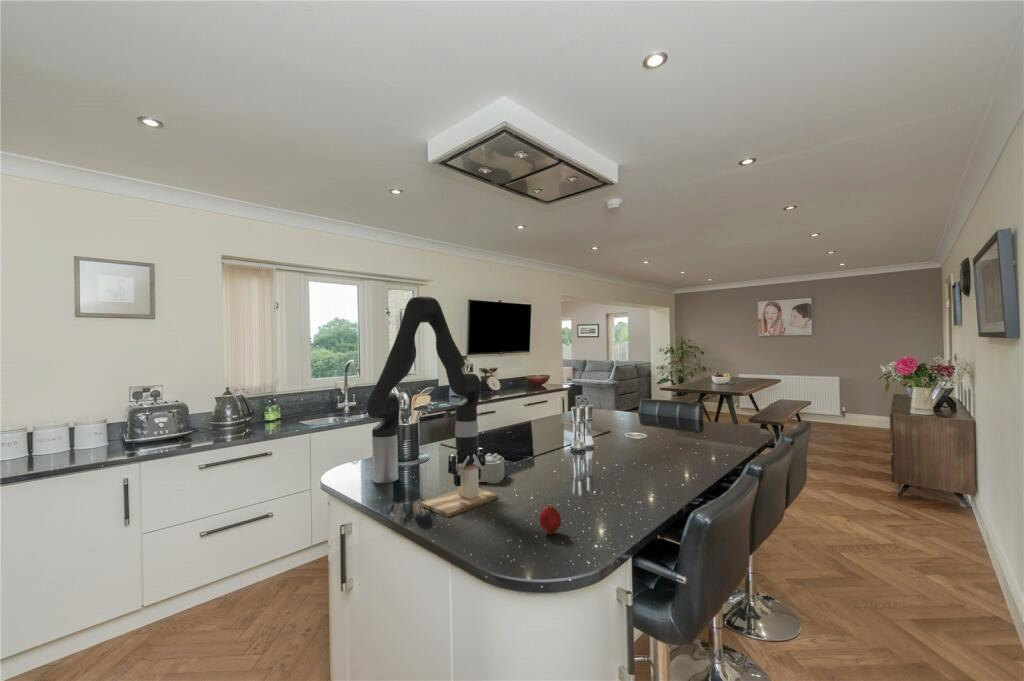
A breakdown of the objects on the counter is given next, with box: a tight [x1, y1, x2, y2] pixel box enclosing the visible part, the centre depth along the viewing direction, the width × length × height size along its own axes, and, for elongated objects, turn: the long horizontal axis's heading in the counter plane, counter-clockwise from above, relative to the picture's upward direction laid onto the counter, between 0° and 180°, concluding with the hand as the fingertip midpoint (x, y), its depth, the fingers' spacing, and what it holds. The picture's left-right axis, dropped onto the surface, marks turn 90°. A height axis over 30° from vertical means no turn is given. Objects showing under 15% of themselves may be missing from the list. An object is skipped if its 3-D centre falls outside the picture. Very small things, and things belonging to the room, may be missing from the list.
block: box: [457, 464, 480, 499], centre depth 143 cm, size 6×4×10 cm, turn 47°
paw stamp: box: [478, 452, 505, 484], centre depth 166 cm, size 10×13×9 cm
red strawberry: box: [538, 503, 562, 535], centre depth 116 cm, size 6×6×8 cm
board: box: [419, 488, 499, 518], centre depth 141 cm, size 14×21×1 cm, turn 137°
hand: (467, 482), depth 143 cm, fingers open, 8 cm apart
